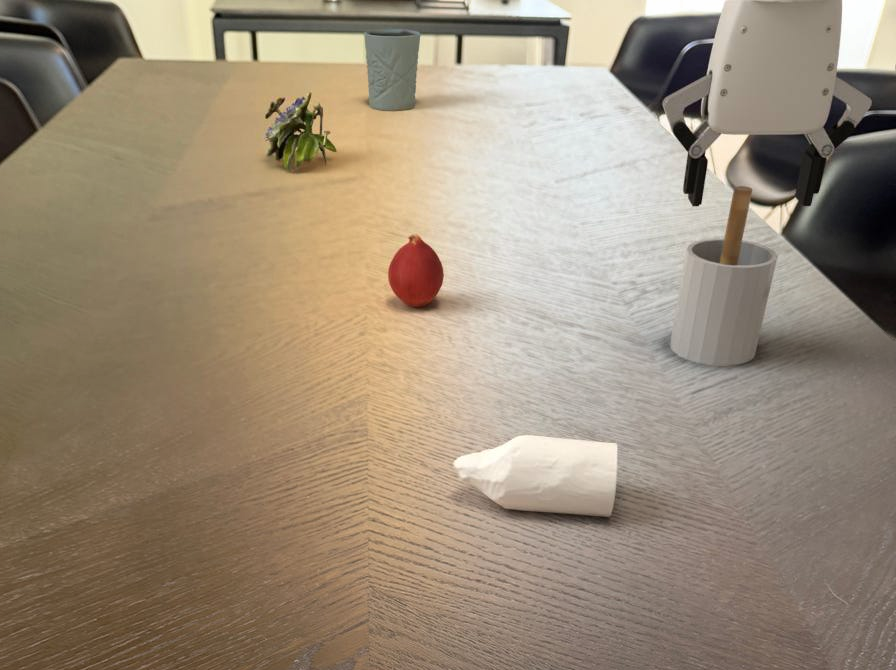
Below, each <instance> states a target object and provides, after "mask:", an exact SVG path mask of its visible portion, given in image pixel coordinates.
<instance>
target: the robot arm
mask: <svg viewBox="0 0 896 670" xmlns="http://www.w3.org/2000/svg"><path fill="white" fill-rule="evenodd" d="M842 22H843V0H724V3H723V6H722V9H721V13H720V16H719V19H718V23H717V25H716V31H715V35H714V39H713V42H712V48H711V51H710V56H709V61H708V65H707V67H708V68H707V71H706V75H704V76H703V77H700V78H699V79H697V80H695V81H693V82H691V83H690V84H688V85H686V86H684V87H682V88H680V89H678V90H677V91H674V92H673V93H671V94H669V95H667V96H666V97H664V99H662V107H663V110H664V113H665V117H666V120H667V122H668V125H669V127H670V130H671V133H672V134H673V136H674V137H675V138H676V139H677V141H678V142H679V144H680V145H681V146H682V147H683V148H684V150H685V151H686V152H687V158H686V165H685V171H684V178H683V186H682V190H683V191H682V192H683V194H684V195H688V196H687V199H688V201H689V203H690V204H691V206H692V207H700V206H701V205H702V203H703V198H704V190H705V185H706V184H705V183H706V177H707V170H708V163H709V159H708V158H707V156H706V152H707V150H708V149H709V148H710V147H711V146H712V145H713V144H714V143H715V142H716V140H718V138H720V136H721V135H731V136H732V135H733V136H734V135H737V136H738V135H739V136H742V135H743V136H745V135H746V136H747V135H750V136H751V135H757V136H761V135H762V136H765V135H767V136H768V135H769V136H770V135H776V136H777V135H804V136H805V138H806V139H807V141H808V143H809V147H808V149H805V152H803V154H802V157H801V158H802V159H801V164H800V168H799V173H798V179H797V184H796V188H795V192H794V193H795V194H794V198H795V199H796V200H797V202H799V203H800V204H801V205H802V206H803V207H811V206H812V203H813V199H814V195H815V194H816V195H817V194H819V192H820V190H821V186H822V181H823V178H824V177H823V176H824V172H825V168H826V163H827V159H828V158H829V157H831V156H832V155H833V154H834V151H835V150H836V149H837V148H838V147H839V146H841V145H842V143H844V142H846V141H847V139H849V138H850V137H851V136H852V135H853V134H854V132H855V129H856V127H857V125H859V124H860V122H861V121H862V119H863V118H864V117H865V116H866V114H867V113H868V111H869V110H870V109H871V106H872V103H873V101H872V99H871V98H870V97H868V96H867V95H866V94H864V93H863V92H862V91H860V90H858V89H856V88H855V87H854V86H852V85H850V84H849V83H847V82H846V81H844V80H843V79H841V78H839V77H838V76H837V72H838V65H839V64H838V63H839V57H840V56H839V55H840V46H841V36H842V25H843V24H842ZM834 97H835V98H837V99H838V100H840V101H841V102H843V103H844V104H846V109H845V110H844V112H843V114H842V116H841V118H839V119H838V120H836V121H835V122H834V123H833V124H832V125H831V126H829V127H828V128H827V129H825V128H824V126H825V124H826V123H827V121H828V117H829V114H830V111H831V106H832V102H833V98H834ZM699 100H701V105H700V115H701V118H702V122H701V123H700V124H699V125H698V126H697V127H696V128H695V129H694V130H693V131H692V130H691V129H690V128H689V125H687V123H686V120H685V117H684V110H685V108H687V107H688V106H690V105H692V104H694V103H696V102H697V101H699Z"/></svg>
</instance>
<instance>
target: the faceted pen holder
mask: <svg viewBox="0 0 896 670" xmlns="http://www.w3.org/2000/svg"><path fill="white" fill-rule="evenodd" d="M723 243H724V238H722V237H721V238H719V237H718V238H707V239H701V240H696V241H693V242H692V243H690V244H688V245H687V248H686V249H685V256H684V261H683V267H682V273H681V278H680V284H679V290H678V294H677V295H678V296H677V301H676V306H675V307H676V308H675V313H674V318H673V326H672V331H671V336H670V341H669V342H670V343H669V346H670V349H671V351H672V352H674V353H675V354H676V355H677V356H679V357H680V358H683V359H684V360H687V361H690V362H694V363H697V364H700V365H707V366H716V367H717V366H719V367H728V366H729V367H730V366H737V365H742V364H746V363H748V362H750V361H751V360H752V359H754V358H755V356H756V353H757V349H758V345H759V339H760V337H761V331H762V326H763V323H764V318H765V313H766V309H767V306H768V301H769V296H770V292H771V288H772V283H773V279H774V276H775V275H774V274H775V270H776V265H777V263H778V257H779V256H778V254H777V253H776V251H775V250H773V249H772V248H770V247H768V246H766V245H763V244H761V243H758V242H754V241H749V240H745V239H742V243H741V248H740V253H739V258H738V263H737V265H727V264H719V263H720V258H721V253H722V248H723Z"/></svg>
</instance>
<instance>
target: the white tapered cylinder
mask: <svg viewBox="0 0 896 670" xmlns="http://www.w3.org/2000/svg"><path fill="white" fill-rule="evenodd" d="M618 466H619V446H618V444H617V443H615V442H604V441H595V440H594V441H593V440H586V439H585V440H584V439H571V438H563V437H553V436H544V435H533V434H532V435H531V434H524V435H519V436H516V437H515V436H514V437H513V438H512V439H510V440H508V441H507V442H505V443H503V444H501V445H499V446H496V447H494V448H488V449H485V450H481V451H478V452H472V453H469V454H464V455H461V456H458V457H457V458H456V459H455V460H454V461H453V468H454V469H455V470H456V472H457V475H458V477H459V479H460V480H461V481H462V482H464V483H467V484H468V485H470V486H472V487H474V488H475V489H476V490H478V491H480V492H481V493H482V494H483V495H484V496H487V498H489V499H490V500H491V501H493V503H495V504H497V505H499V506H500V507H502V508H504V509H505V510H515V511H521V512H535V513H536V512H537V513H550V514H567V515H576V516H577V515H578V516H579V515H580V516H589V517H591V516H592V517H605V518H610V517H611V515H612V513H613V509H614V505H615V498H616V491H617V481H618V468H619V467H618Z"/></svg>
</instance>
